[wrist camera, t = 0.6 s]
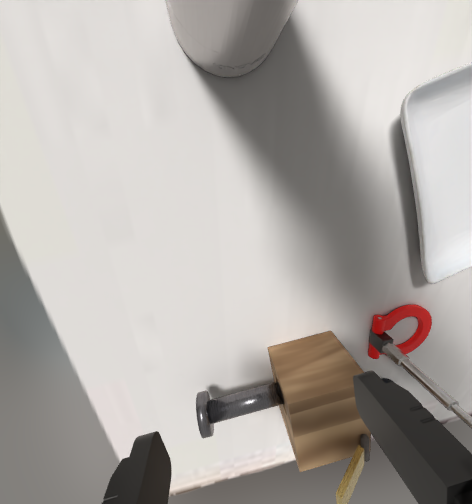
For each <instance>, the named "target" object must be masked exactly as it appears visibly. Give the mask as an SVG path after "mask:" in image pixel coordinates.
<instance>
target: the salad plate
mask: <svg viewBox="0 0 472 504" xmlns="http://www.w3.org/2000/svg"><path fill="white" fill-rule="evenodd" d="M400 115H401V124H402V129H403V134H404V139H405V143H406V148H407V154H408V159H409V165H410V171H411V177H412V184H413V190H414V197H415V204H416V211H417V220H418V230H419V240H420V254H421V264H422V269H423V273H424V276H425V278H426V280H427V282H428V283H430V284H434V283H437V282H439V281H442V280H444V279H446V278H448V277H450V276H452V275H455V274H457V273H459V272H461V271H463V270H465V269H467V268H470V267H472V62H470V63H468V64H465V65H463V66H461V67H458V68H456V69H453V70H451V71H449V72H446V73H444V74H442V75H439V76H437V77H434V78H432V79H430V80H428V81H426V82H424V83H422V84H421V85H419V86H417V87H416V88H414V89H413V90H412V91H410V92H409V93H408V94H407V95H406V97H405V98H404V100H403V102H402V105H401V113H400Z"/></svg>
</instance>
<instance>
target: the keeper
mask: <svg viewBox="0 0 472 504" xmlns="http://www.w3.org/2000/svg"><path fill="white" fill-rule="evenodd" d="M363 467H364V449H363V448H362V447H361V446H359V445H358V447H357V449H356V451H355V453H354V456H353V458H352V460H351V462H350V464H349V466H348V469H347V471H346V473H345V475H344V477H343V479H342V481H341V484H340V486H339V488H338V490H337V492H336V500H337V504H348V502H349V500H350V497H351V495H352V492H353V490H354V488H355V485H356V483H357V481H358V478H359V476H360V473H361V471H362V469H363Z"/></svg>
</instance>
